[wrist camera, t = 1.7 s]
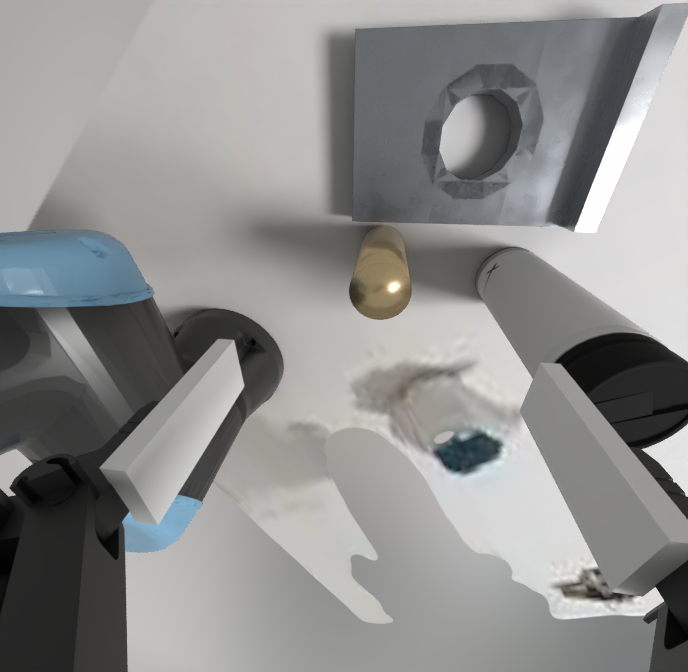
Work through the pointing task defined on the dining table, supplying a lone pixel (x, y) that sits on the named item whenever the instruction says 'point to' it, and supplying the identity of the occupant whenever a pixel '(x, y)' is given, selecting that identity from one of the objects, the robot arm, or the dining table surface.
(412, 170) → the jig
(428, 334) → the dining table surface
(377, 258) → the gold metal cylinder
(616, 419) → the travel mug
